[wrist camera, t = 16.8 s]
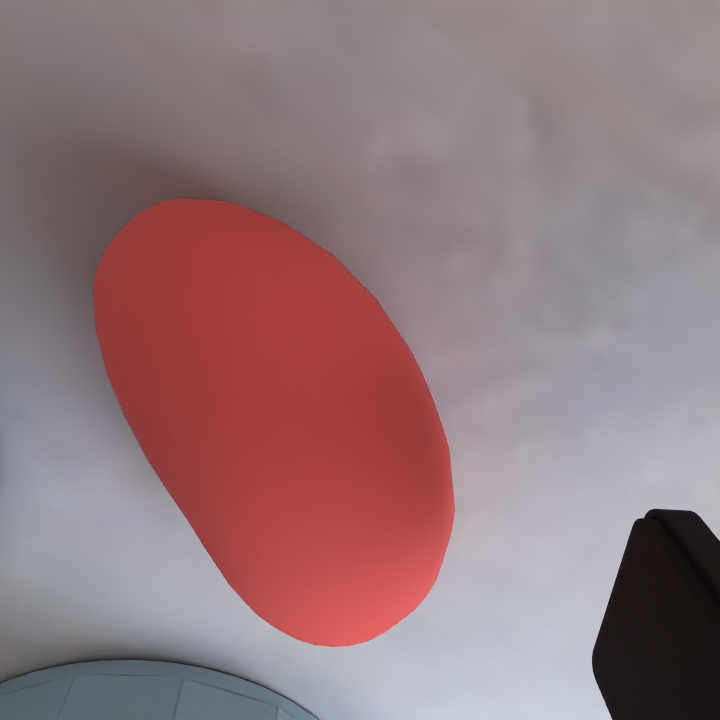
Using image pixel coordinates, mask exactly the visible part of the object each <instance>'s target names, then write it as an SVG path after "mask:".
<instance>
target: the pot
mask: <svg viewBox="0 0 720 720" xmlns="http://www.w3.org/2000/svg"><path fill="white" fill-rule="evenodd" d="M0 720H318V719H316V718H315V717H314V716H313V715H312V714H310V713H309V712H307V711H306V710H304V709H303V708H301V707H300V706H298V705H296V704H295V703H293V702H292V701H290V700H289V699H287V698H285V697H283V696H281V695H279V694H277V693H275V692H273V691H271V690H269V689H267V688H265V687H263V686H260V685H257V684H255V683H252V682H249V681H246V680H244V679H241V678H238V677H236V676H233V675H229V674H225V673H221V672H217V671H214V670H210V669H206V668H202V667H196V666H190V665H184V664H178V663H172V662H161V661H147V660H99V661H91V662H82V663H74V664H66V665H61V666H57V667H52V668H48V669H43V670H39V671H35V672H32V673H29V674H26V675H23V676H20V677H17V678H14V679H11V680H8V681H5V682H3V683H1V684H0Z"/></svg>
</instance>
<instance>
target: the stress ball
mask: <svg viewBox="0 0 720 720" xmlns="http://www.w3.org/2000/svg"><path fill="white" fill-rule="evenodd" d="M93 293H94V305H95V323H96V332H97V336H98V339H99V343H100V347H101V351H102V355H103V359H104V363H105V367H106V371H107V375H108V377H109V380H110V382H111V385H112V387H113V390H114V392H115V394H116V397H117V399H118V402H119V404H120V406H121V409H122V411H123V414H124V416H125V418H126V420H127V422H128V424H129V425H130V427H131V429H132V431H133V433H134V435H135V437H136V439H137V441H138V443H139V445H140V446H141V448H142V450H143V452H144V454H145V456H146V458H147V460H148V461H149V463H150V464H151V466H152V467H153V469H154V470H155V472H156V474H157V475H158V477H159V478H160V480H161V481H162V483H163V484H164V486H165V488H166V489H167V491H168V492H169V494H170V495H171V497H172V498H173V499H174V501H175V502H176V504H177V505H178V507H179V508H180V510H181V511H182V513H183V514H184V516H185V517H186V519H187V520H188V522H189V523H190V525H191V526H192V528H193V530H194V531H195V533H196V534H197V536H198V538H199V539H200V541H201V543H202V544H203V546H204V547H205V549H206V550H207V552H208V553H209V555H210V556H211V558H212V560H213V561H214V563H215V564H216V566H217V567H218V569H219V570H220V572H221V573H222V575H223V576H224V578H225V579H226V581H227V582H228V584H229V585H230V586H231V587H232V588H233V589H234V590H235V592H236V593H237V594H238V595H239V596H240V597H241V598H242V599H243V601H244V602H245V603H246V604H247V605H248V606H249V607H250V608H251V609H252V610H253V611H254V612H255V613H256V614H257V615H258V616H260V617H261V618H262V619H264V620H265V621H267V622H268V623H270V624H271V625H272V626H274V627H275V628H277V629H279V630H280V631H282V632H284V633H286V634H288V635H290V636H292V637H294V638H296V639H297V640H301V641H304V642H307V643H311V644H314V645H321V646H330V647H337V646H350V645H355V644H358V643H362V642H365V641H369V640H371V639H373V638H375V637H377V636H379V635H381V634H383V633H385V632H386V631H387V630H389V629H390V628H392V627H393V626H394V625H396V624H397V623H398V622H400V621H401V620H402V619H403V618H405V617H406V616H407V615H409V614H410V613H411V612H412V611H414V610H415V608H416V607H417V606H418V605H419V604H420V603H421V602H422V601H423V599H424V598H425V597H426V596H427V594H428V593H429V591H430V589H431V588H432V586H433V584H434V583H435V581H436V579H437V576H438V573H439V571H440V568H441V565H442V562H443V559H444V555H445V552H446V548H447V545H448V542H449V538H450V535H451V531H452V526H453V519H454V512H455V508H454V494H453V484H452V474H451V465H450V455H449V447H448V444H447V440H446V437H445V433H444V430H443V427H442V424H441V421H440V418H439V415H438V412H437V409H436V407H435V404H434V401H433V398H432V396H431V393H430V391H429V388H428V386H427V384H426V381H425V379H424V377H423V375H422V372H421V370H420V368H419V366H418V364H417V362H416V360H415V358H414V356H413V354H412V352H411V351H410V349H409V347H408V346H407V344H406V343H405V341H404V340H403V338H402V337H401V335H400V334H399V332H398V331H397V329H396V328H395V326H394V325H393V323H392V322H391V320H390V319H389V317H388V316H387V314H386V313H385V311H384V310H383V308H382V307H381V305H380V304H379V302H378V301H377V299H376V298H375V297H374V296H373V295H372V294H371V293H370V292H369V291H368V290H367V289H366V288H365V287H364V286H363V285H362V284H361V283H360V282H359V281H358V280H357V279H356V278H355V277H354V276H353V275H352V274H351V273H350V272H349V271H348V270H347V269H346V268H345V267H344V266H343V265H342V264H341V263H340V262H339V261H338V260H337V259H336V258H335V257H334V256H333V255H332V254H331V253H329V252H328V251H326V250H325V249H323V248H322V247H320V246H319V245H317V244H316V243H314V242H312V241H311V240H309V239H308V238H306V237H305V236H303V235H302V234H300V233H299V232H297V231H296V230H294V229H293V228H291V227H290V226H288V225H287V224H285V223H283V222H282V221H280V220H277V219H275V218H272V217H269V216H267V215H264V214H261V213H259V212H256V211H253V210H251V209H248V208H245V207H243V206H240V205H237V204H235V203H232V202H227V201H219V200H202V199H171V200H166V201H163V202H160V203H158V204H155V205H153V206H151V207H149V208H147V209H146V210H144V211H142V212H141V213H139V214H138V215H137V216H135V217H134V218H133V219H131V220H130V221H129V222H128V223H127V224H126V225H125V226H124V227H123V228H122V229H121V230H120V231H119V232H118V233H117V235H116V236H115V237H114V238H113V240H112V241H111V242H110V244H109V245H108V247H107V249H106V250H105V252H104V253H103V256H102V258H101V260H100V262H99V265H98V267H97V271H96V274H95V278H94V287H93Z"/></svg>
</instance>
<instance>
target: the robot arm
mask: <svg viewBox="0 0 720 720" xmlns="http://www.w3.org/2000/svg"><path fill="white" fill-rule="evenodd" d="M592 667H593V672H594V676H595V679H596V682H597V684H598V687H599V689H600V691H601V694H602V696H603V698H604V701H605V703H606V706H607V708H608V710H609V713H610V715H611V717H612V720H720V541H719V540H718V539H717V537H716V536H715V535H714V534H713V532H712V531H711V530H710V529H709V528H708V526H707V525H706V524H705V523H704V521H703V520H702V519H701V518H700V517H699V516H698V515H697V514H696V513H695V512H692V511H685V510H666V509H652V510H649V511H648V512H647V514H646V515H645V517H644V518H640V519H637V520H636V521H635V522H634V525H633V527H632V530H631V533H630V536H629V539H628V542H627V546H626V549H625V552H624V555H623V558H622V561H621V564H620V568H619V571H618V574H617V577H616V580H615V583H614V586H613V590H612V593H611V596H610V599H609V602H608V605H607V609H606V612H605V615H604V618H603V621H602V624H601V627H600V631H599V634H598V637H597V640H596V643H595V646H594V649H593V654H592Z"/></svg>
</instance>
